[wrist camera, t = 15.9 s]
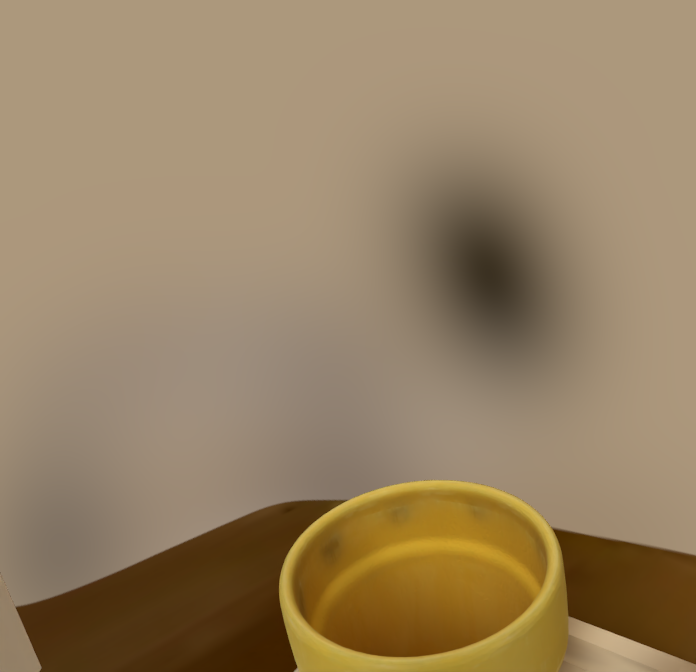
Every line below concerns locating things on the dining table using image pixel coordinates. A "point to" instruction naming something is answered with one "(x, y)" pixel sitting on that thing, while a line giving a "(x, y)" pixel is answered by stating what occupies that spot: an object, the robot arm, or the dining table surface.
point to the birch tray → (613, 653)
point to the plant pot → (427, 584)
